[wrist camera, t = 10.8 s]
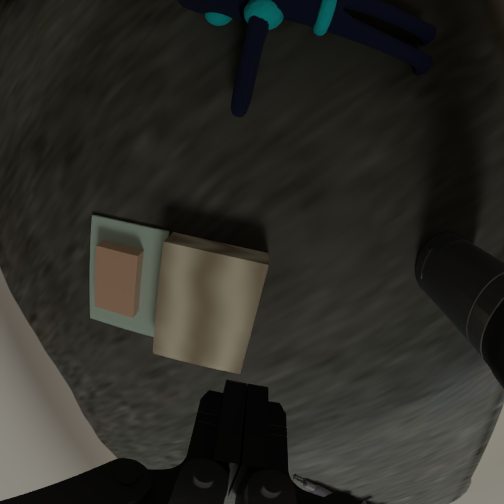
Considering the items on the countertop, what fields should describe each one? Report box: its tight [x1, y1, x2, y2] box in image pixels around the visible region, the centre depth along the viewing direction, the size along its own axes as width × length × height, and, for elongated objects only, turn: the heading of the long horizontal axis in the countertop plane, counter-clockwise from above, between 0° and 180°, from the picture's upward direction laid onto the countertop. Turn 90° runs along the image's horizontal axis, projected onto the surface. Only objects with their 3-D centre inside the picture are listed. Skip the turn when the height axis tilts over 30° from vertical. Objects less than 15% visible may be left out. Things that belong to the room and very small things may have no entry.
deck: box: [153, 232, 269, 374], centre depth 40 cm, size 12×16×4 cm
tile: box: [95, 241, 144, 318], centre depth 40 cm, size 6×9×2 cm, turn 167°
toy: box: [178, 0, 437, 117], centre depth 27 cm, size 31×8×30 cm
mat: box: [90, 215, 169, 337], centre depth 42 cm, size 11×16×1 cm
